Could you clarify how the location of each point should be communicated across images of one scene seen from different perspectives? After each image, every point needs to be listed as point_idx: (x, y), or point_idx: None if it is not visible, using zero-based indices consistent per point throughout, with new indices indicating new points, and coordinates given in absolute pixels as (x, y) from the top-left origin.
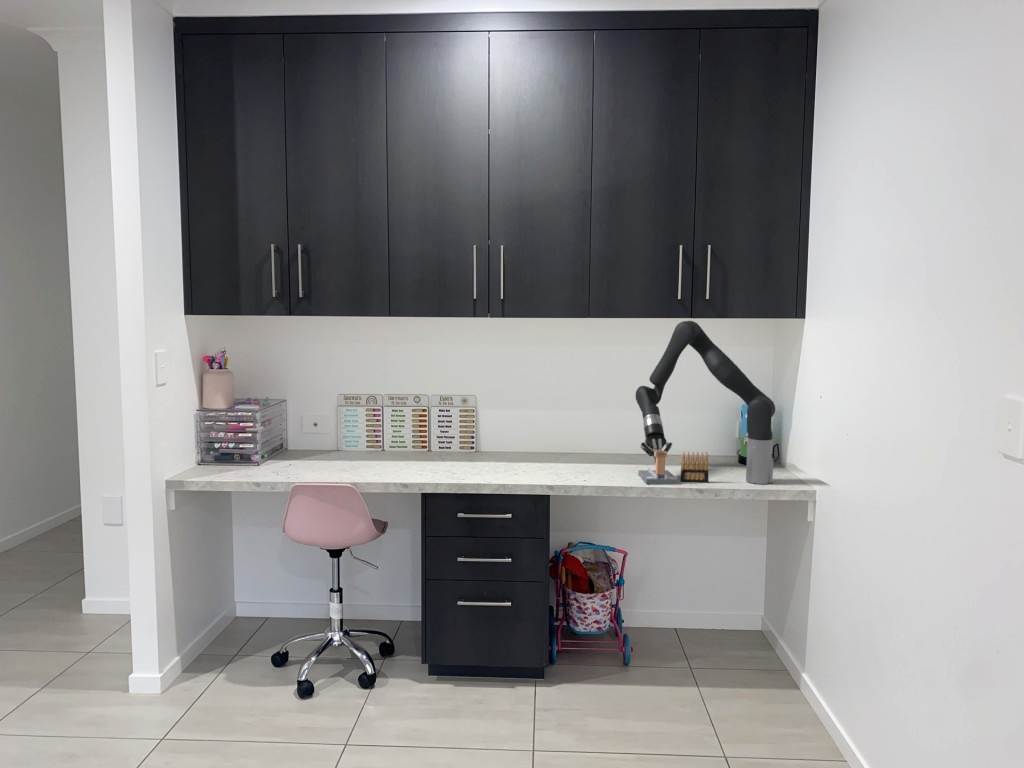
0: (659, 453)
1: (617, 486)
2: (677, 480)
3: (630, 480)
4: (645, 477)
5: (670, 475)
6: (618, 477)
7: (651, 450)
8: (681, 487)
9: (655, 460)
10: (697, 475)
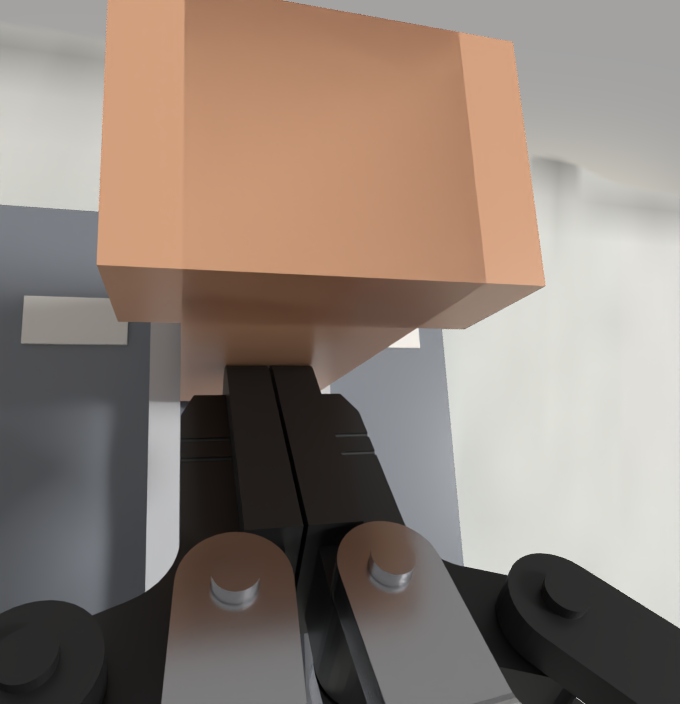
0: (390, 41)
1: (668, 205)
2: (2, 212)
3: (557, 456)
4: (436, 334)
5: (31, 466)
6: (673, 608)
7: (585, 647)
8: (15, 87)
9: (359, 434)
10: None
